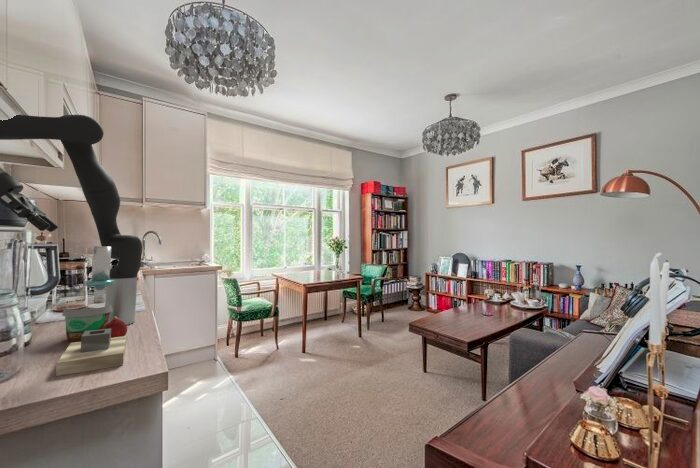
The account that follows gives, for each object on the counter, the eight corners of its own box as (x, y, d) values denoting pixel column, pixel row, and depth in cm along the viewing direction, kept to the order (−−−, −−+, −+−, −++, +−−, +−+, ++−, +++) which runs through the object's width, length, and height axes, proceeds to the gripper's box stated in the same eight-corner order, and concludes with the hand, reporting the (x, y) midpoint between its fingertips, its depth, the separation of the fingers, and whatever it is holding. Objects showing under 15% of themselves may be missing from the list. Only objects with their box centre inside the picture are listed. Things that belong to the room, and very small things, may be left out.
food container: (51, 345, 85) (53, 311, 86) (61, 339, 91) (64, 306, 91) (104, 341, 90) (106, 308, 91) (111, 335, 96) (113, 304, 96)
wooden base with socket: (70, 354, 79) (71, 327, 80) (125, 346, 86) (127, 322, 87) (55, 376, 66) (58, 344, 67) (122, 365, 73) (124, 336, 74)
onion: (131, 340, 91) (132, 314, 92) (114, 347, 86) (116, 319, 86) (114, 339, 92) (115, 313, 92) (96, 345, 86) (98, 318, 86)
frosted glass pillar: (85, 301, 78) (89, 246, 78) (114, 300, 81) (117, 246, 82) (81, 305, 73) (85, 246, 73) (112, 303, 76) (116, 247, 77)
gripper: (-6, 165, 68) (59, 218, 74) (15, 176, 80) (70, 221, 86) (-44, 185, 65) (27, 238, 71) (-16, 193, 76) (43, 239, 83)
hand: (50, 229), depth 78 cm, fingers open, 8 cm apart
